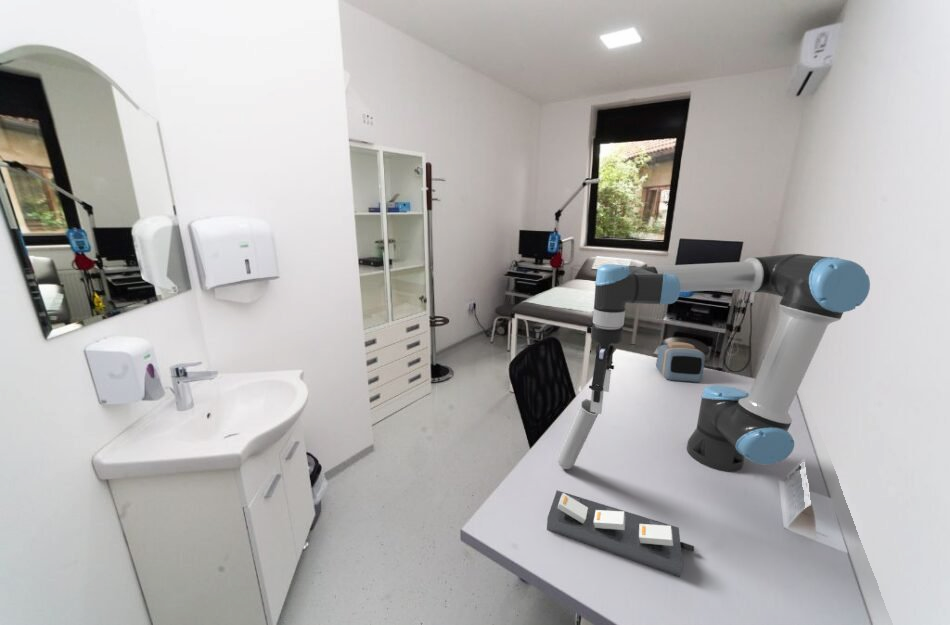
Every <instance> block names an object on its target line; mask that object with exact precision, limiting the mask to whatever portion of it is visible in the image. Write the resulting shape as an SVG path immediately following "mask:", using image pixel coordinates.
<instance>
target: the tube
mask: <svg viewBox="0 0 950 625" xmlns="http://www.w3.org/2000/svg"><path fill="white" fill-rule="evenodd" d="M579 405H580V406H579V408H578V411H577V413H576V415H575V418H574V420H573V422H572V425H571V427H570V429H569V431H568V433H567V435H566V438H565V441H564V442H563V445H562V446H561V449H560V452H559V454H558V457H557V463H558V464H559V466H560V467H561V469H565V470H570V469H571V468H572V467H573V468H574V467H575V466H574V465H575V464H576V461H577V459H578V457H579V455H580V454H581V451H582V449H583V447H584V445H585V442H586V441H587V438H588V436H589V434H590V433H591V430H592V427H593V426H594V424H595V422H596V419H597V418H598V415H600V414H599V413H595V412H590V406H591V399H588V398H585V399H583V400H582V401H580V404H579Z"/></svg>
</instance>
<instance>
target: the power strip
mask: <svg viewBox="0 0 950 625" xmlns="http://www.w3.org/2000/svg"><path fill="white" fill-rule="evenodd" d="M563 493H564V494H566V495H568V496H569V497H571V498H573V499H574V500H576V501H578V502H580V503H581V504H583V505H585V506H586V507H588V510H587V515H586V520H585V522H584V523H581V522H579V521H578V520H576V519H574V518H573V517H571V516H570V515H568V514H566V513H565V512H563V511H561V510H560V509H558V504H559V501H560V498H561V496H562V494H563ZM596 510H605V511H624V513H625V517H626V518H625V530H618V529H605V528H595V526H594V517H595V511H596ZM546 520H547V521H546V531H549V532H552V533H555V534H557V535H560V536H563V537H566V538H568V539H571V540H574V541H577V542H580V543H583V544H585V545H588V546H590V547H594V548H597V549H599V550H602V551H604V552H608V553H610V554H613V555H616V556H619V557H622V558H624V559H626V560H630V561H633V562H635V563H639V564H642V565H644V566H647V567H650V568H653V569H655V570H659V571H661V572H664V573H667V574H669V575H673V576H676V577H678V578H681V573H682V568H683V556H682V549H683V550H687V551H689V552H692V553H694V551H695V546H694V545H692V544H689V543H685V542H682V541H681V537H680V527H678V526H675V525H671V524H668V523H665V522H662V521H659V520H655V519H651V518H649V517H646V516H642V515H639V514H635V513H632V512H629V511H626V510H623V509H620V508H617V507H612V506H610V505H606V504H603V503H600V502H598V501H597V502H596V501H593V500H590V499H587V498H583V497H581V496H577V495H573V494H570V493H568V492H564V491H561V490H556V492H555V495H554V497H553V501H552V504H551V506H550V509H549V513H548V515H547V519H546ZM639 524H650V525H665V526H671V528H672V535H673V546H669V545H657V544H646V543H640V539H639Z"/></svg>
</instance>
